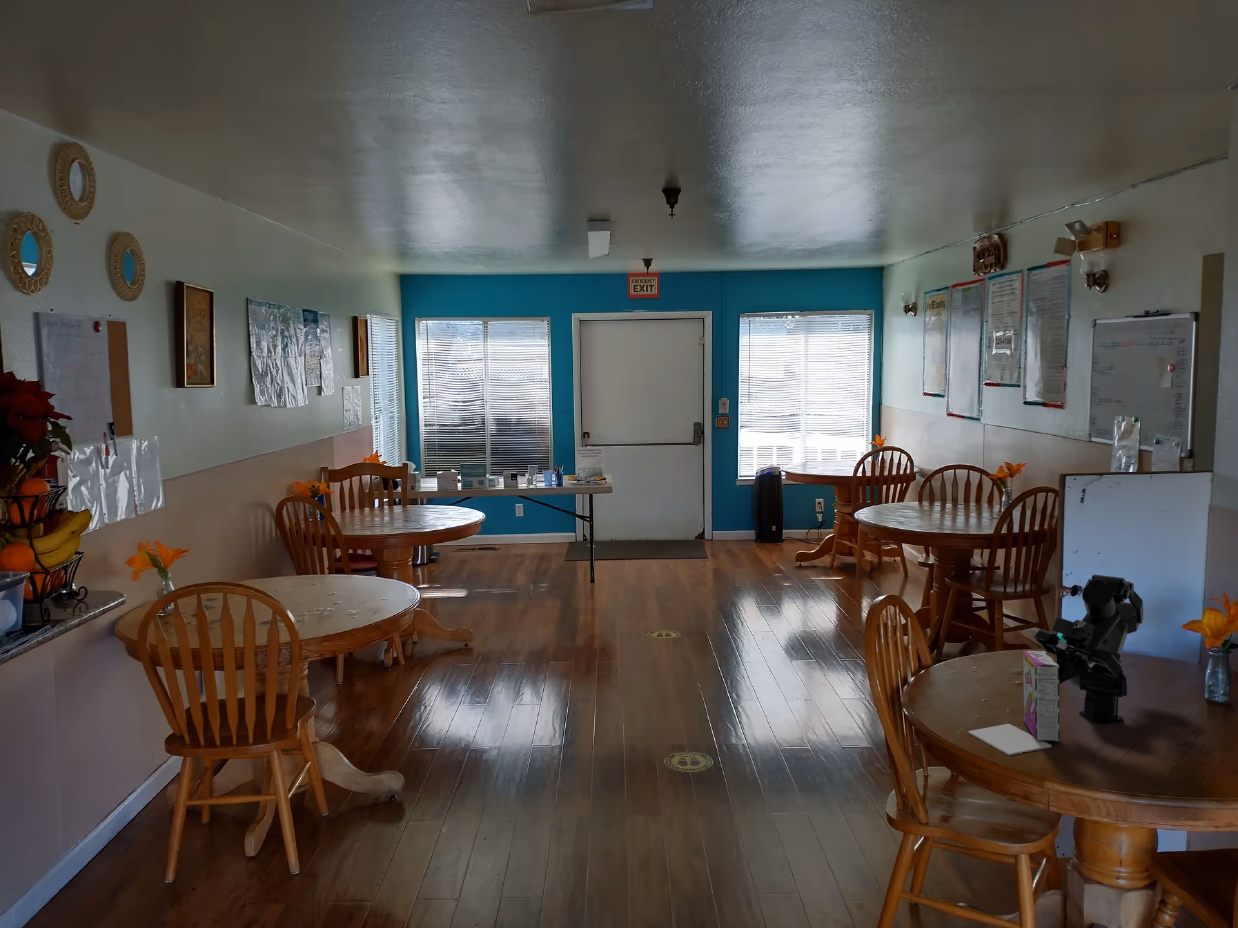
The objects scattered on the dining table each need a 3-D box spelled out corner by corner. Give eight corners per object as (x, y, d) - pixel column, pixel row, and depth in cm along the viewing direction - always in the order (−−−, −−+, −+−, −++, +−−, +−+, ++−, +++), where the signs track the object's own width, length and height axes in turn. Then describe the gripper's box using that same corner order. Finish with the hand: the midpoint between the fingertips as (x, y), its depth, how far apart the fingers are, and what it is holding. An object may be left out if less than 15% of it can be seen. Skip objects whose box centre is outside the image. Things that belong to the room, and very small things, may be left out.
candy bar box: (1022, 722, 199) (1022, 649, 198) (1046, 723, 198) (1046, 650, 197) (1034, 741, 188) (1034, 664, 187) (1060, 742, 187) (1060, 664, 186)
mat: (1008, 725, 198) (1008, 723, 198) (1051, 747, 187) (1051, 745, 187) (968, 732, 195) (968, 731, 194) (1008, 755, 183) (1008, 753, 183)
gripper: (1041, 593, 201) (1001, 648, 199) (1114, 615, 184) (1071, 675, 181) (1067, 623, 205) (1028, 677, 202) (1140, 647, 188) (1098, 706, 185)
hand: (1054, 683), depth 193 cm, fingers closed
